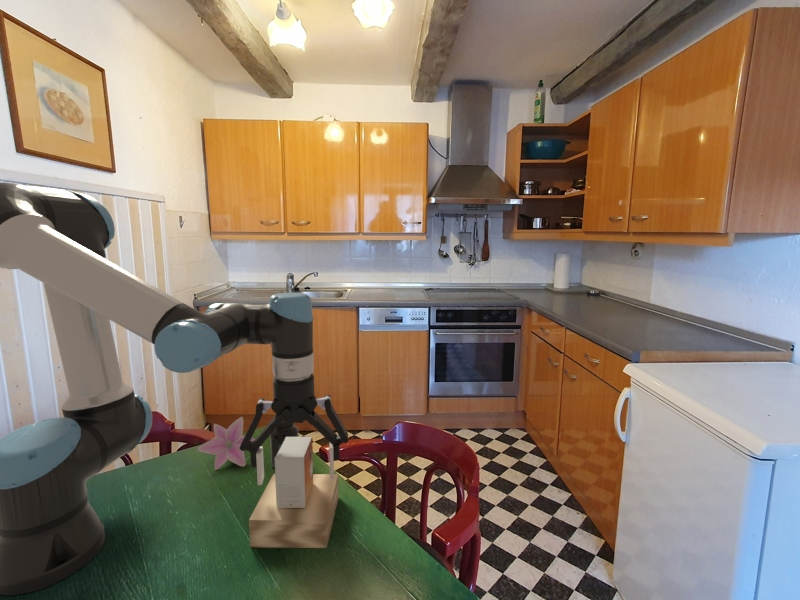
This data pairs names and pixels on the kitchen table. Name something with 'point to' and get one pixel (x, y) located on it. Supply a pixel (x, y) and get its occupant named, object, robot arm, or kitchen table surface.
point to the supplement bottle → (281, 438)
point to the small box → (294, 472)
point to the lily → (226, 444)
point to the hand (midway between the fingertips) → (297, 477)
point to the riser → (295, 517)
